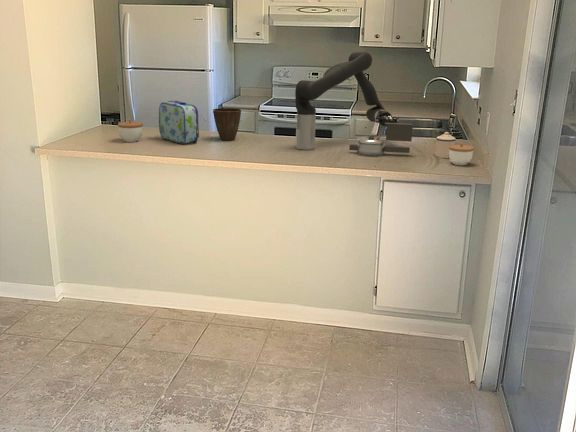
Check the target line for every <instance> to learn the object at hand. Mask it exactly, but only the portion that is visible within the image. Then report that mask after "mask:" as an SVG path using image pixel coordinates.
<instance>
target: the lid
mask: <svg viewBox="0 0 576 432" xmlns="http://www.w3.org/2000/svg"><path fill="white" fill-rule="evenodd" d="M413 128H414V125H413V123H401V122H398V123H387V126H386V131H385V132H386V133H385V138H384V137H379V136H373V135H371V136H360V137H357V138H356V142H360V143H366V144H381V143H385V144H386V141H393V142H396V141H397V142H412V140H413V139H412V138H413Z"/></svg>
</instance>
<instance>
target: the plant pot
mask: <svg viewBox="0 0 576 432" xmlns="http://www.w3.org/2000/svg"><path fill="white" fill-rule="evenodd" d="M212 114H213V119H214V122H215V126H216V131H217V133H218V136H219V139H220V140H221V141H222V142H223V141H225V142H229V141H230V142H231V141H235V140H236V137H237V133H238V130H239V127H240V123H241V117H242V115H241V114H242V109H241V108H236V107H235V108H234V107H220V108H213V109H212Z"/></svg>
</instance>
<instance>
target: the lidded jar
mask: <svg viewBox="0 0 576 432" xmlns="http://www.w3.org/2000/svg"><path fill="white" fill-rule="evenodd" d="M473 154H474V147H473V146H471V145H465V144H463V142H461V143H460V144H455V145H451V146H449V158H448V159H449V160H450V162H452V164H453V165H455V166H467V164H469V163H470V161H471V160H472V158H473Z"/></svg>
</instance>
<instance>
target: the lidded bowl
mask: <svg viewBox="0 0 576 432" xmlns="http://www.w3.org/2000/svg"><path fill="white" fill-rule="evenodd" d="M117 129H118V134H119V136H120V138H121V139H122V140H123V141H124V142H125V141H126V142H125V143H136V141H137V142H139V140H141V139H142V136H143V131H144V123H143V122H142V121H141V122H139V121H132V119H128V121H123V122H122V121H121V122H119V123H117Z"/></svg>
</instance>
